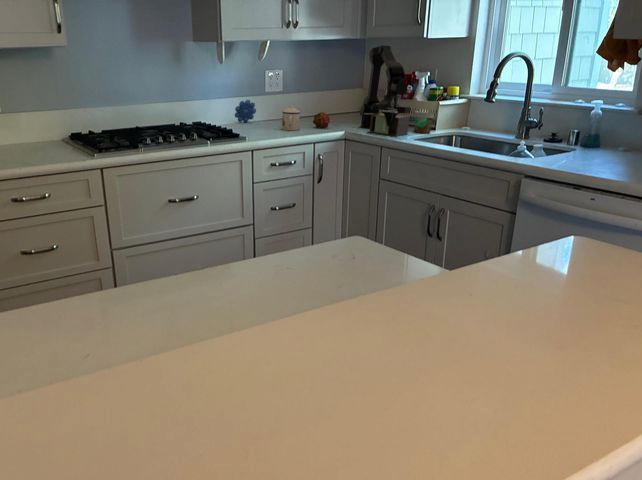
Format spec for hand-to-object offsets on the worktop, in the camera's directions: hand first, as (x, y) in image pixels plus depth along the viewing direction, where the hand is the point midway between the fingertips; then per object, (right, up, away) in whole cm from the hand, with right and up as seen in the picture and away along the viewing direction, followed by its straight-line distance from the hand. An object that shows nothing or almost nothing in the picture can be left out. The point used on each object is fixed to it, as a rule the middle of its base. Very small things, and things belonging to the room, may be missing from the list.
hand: (388, 126), depth 300 cm
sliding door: (-3, -2, +6) cm, 7 cm away
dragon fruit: (-31, +6, +24) cm, 39 cm away
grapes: (-71, +12, +34) cm, 79 cm away
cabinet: (+1, -1, +10) cm, 10 cm away
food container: (+19, +1, +16) cm, 25 cm away
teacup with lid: (-48, +2, +13) cm, 49 cm away
